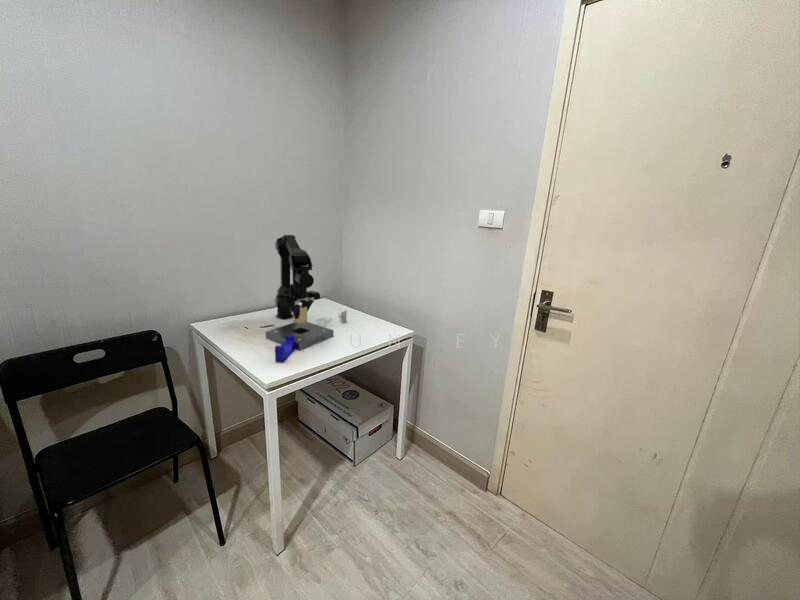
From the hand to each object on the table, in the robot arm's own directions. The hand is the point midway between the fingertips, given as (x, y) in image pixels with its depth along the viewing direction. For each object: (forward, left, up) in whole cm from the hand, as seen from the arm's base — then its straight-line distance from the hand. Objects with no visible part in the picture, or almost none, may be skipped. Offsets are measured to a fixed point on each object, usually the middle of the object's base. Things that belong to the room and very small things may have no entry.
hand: (300, 317), depth 142 cm
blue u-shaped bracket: (+16, +9, -9) cm, 21 cm away
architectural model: (-22, -2, -10) cm, 25 cm away
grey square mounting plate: (0, 0, -9) cm, 9 cm away
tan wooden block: (0, 0, -2) cm, 2 cm away
